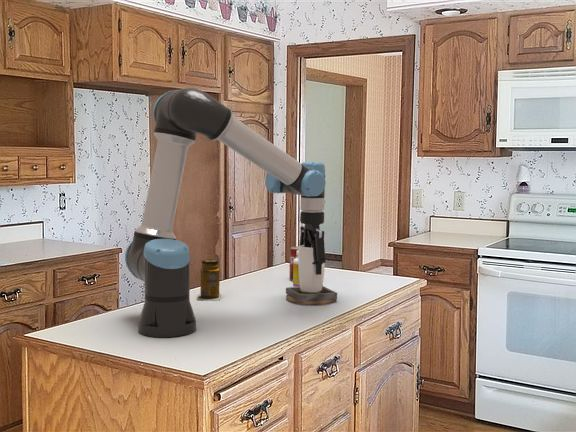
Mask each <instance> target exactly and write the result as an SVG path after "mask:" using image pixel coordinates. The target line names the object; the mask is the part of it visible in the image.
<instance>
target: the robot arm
mask: <svg viewBox="0 0 576 432" xmlns="http://www.w3.org/2000/svg"><path fill="white" fill-rule="evenodd" d="M152 110H153V111H152V112H153V113H152V114H153V116H152V117H153V120H154V121H155V125H154V131H153V135H154V137H155V138H156V140H157V144H156V150H155V153H154V159H153V163H152V169H151V175H150V179H149V185H148V190H147V196H146V199H145V205H144V209H143V215H142V221H141V225H140V226H138V227H137V228H135V229H134V231H133V232H134V233H133V237H132V240H131V242H130V243H129V244H128V245H127V247H126V250H125V253H124V262H125V265H126V266H125V267H126V268H127V269H128V271H129V272H130V273H131V275H132V276H134V278H136V279H139V280H141V281H142V282H143V283H144V304H143V306H142V309H141V313H140V316H139V319H138V321H137V322H138V323H137V327H138V328H137V330H138V333H139V334H141V335H143V336H147V337H153V338H173V337H174V338H175V337H181V336H186V335H189V334H192V333H194V332H196V330H197V319H196V315H195V313H194V309H193V307H192V304H191V300H190V299H191V298H190V297H191V296H190V290H191V289H190V286H191V285H190V283H191V282H190V279H191V278H190V273H191V271H190V267H191V266H190V265H191V263H190V262H191V256H190V249H189V248H190V247H189V246H188V244H187V243H185V242H184V241H181V240H180V239H179V240H178V239H177V236H176V235H175V233H174V232H173V228H174V227H173V226H174V223H175V218H176V211H177V206H178V203H179V198H180V197H179V196H180V193H181V186H182V181H183V177H184V170H185V166H186V162H187V161H186V160H187V157H188V155H187V154H188V152H189V147H191V146H192V145H193V144H195V143H196V138H197V134H199V135H202V136H203V137H206V138H207V139H209V140H210V141H218V142H220V143H222V144H223V145H225V146H226V147H228V148H229V149H231V150H233V151H234V152H235V153H237V154H239V155H240V156H241V157H243V158H245V159H246V160H248V161H249V162H251V163H252V164H254V165H255V166H257V167H258V168H259V169H261V170H263V171H265V172H266V173H265V178H264V180H265V181H264V183H265V188H266V190H267V191H268V193H271V194H290V195H298V196H300V201H299V202H300V207H299V209H300V210H301V212H300V214H299V215H300V217H299V218H300V221H299V222H300V224H303V226H302V225H301V226H300V236H299V245H298V246H301V245H304V246H305V247H309V248H311V245H312V248H313V257H314V262H313V263H312V264H313V285H321V284H322V264H323V263H325V264H326V245H325V231H324V230H321V229H320V225H323V224H324V223H325V212H324V210H325V204H326V199H325V195H326V189H325V188H326V183H327V182H326V166H325V164H324V163H323V162H321V161H302V162H299V161H298V160H297V159H295V158H294V157H292V156H291V155H289V154H288V153H286V152H285V151H284V150H282V149H281V148H279V147H278V146H277V145H275V144H273V143H272V142H271V141H269V140H268V139H266V138H265V137H263V136H262V135H260V134H259V133H258V132H256V131H255V130H254V129H252V128H250V126H247V125H246V124H245V123H244V122H242V121H240V119H238V118H236V117H235V116H234V115H233V110H231V109H230V108H229V107H227V106H226V105H224V104H222V103H221V102H220V101H218V100H217V99H215V97H213V96H211V95H210V94H208V93H207V92H205V91H203V90H201V89H198V88H194V87H186V88H182V89H174V90H169V91H167V92H165V93H164V94H161V96H159V97H158V99H157V100H156V101H155V103H154V105H153V109H152Z"/></svg>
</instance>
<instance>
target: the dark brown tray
mask: <svg viewBox="0 0 576 432" xmlns="http://www.w3.org/2000/svg"><path fill="white" fill-rule="evenodd" d="M285 294H286V295H285V300H286V301H287V302H288V303H290V304H294V305H301V306H325V305H326V306H327V305H331V304H333V303H335V302H336V301H337V300H338V292H336V291H334V290H332V289H330V288H328V287H326V286H322V290H321V291H320V292H318V293H316V294H311V293H303V292H302V291H300V287H293V286H291V287H285Z"/></svg>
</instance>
